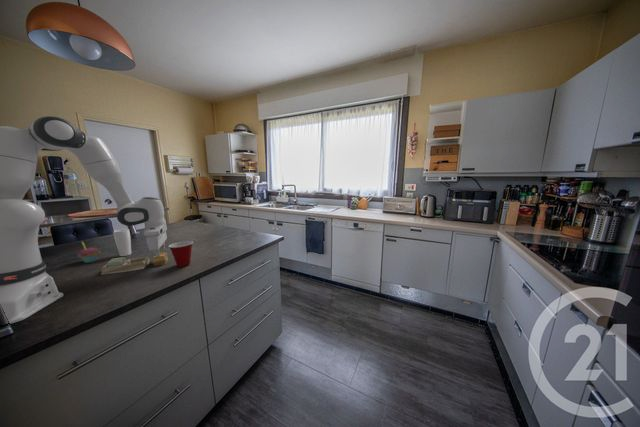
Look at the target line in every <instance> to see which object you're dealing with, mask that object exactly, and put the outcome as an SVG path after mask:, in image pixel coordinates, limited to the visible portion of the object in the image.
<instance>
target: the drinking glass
mask: <svg viewBox="0 0 640 427" xmlns="http://www.w3.org/2000/svg"><path fill="white" fill-rule="evenodd" d="M112 232H113V237H114V238H113V239H114V241H115V244H116V247H117V251H118V255H119V257H126V256H130V255H132V244H131V243H132V242H131V233H130V229H129V228H122V229H121V228H120V229H116V230H113V231H112Z"/></svg>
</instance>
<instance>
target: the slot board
mask: <svg viewBox="0 0 640 427" xmlns="http://www.w3.org/2000/svg"><path fill="white" fill-rule="evenodd" d="M150 263H151V260H150V257H149V256H145V257H138V258H137V257H136V258H135V257H134V258H128V259H126V256H121V257H116V258H111V259H110V260H109V261H107V263H106V264H105V265H103V267H101V269H100V270H101V272H100V273H101V276H104V275H111V274H112V275H113V274H118V273H124V272H125V273H126V272H131V271H132V272H133V271H139V270H144V269H145V268H146V267H147V266H148V265H149V264H150Z"/></svg>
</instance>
